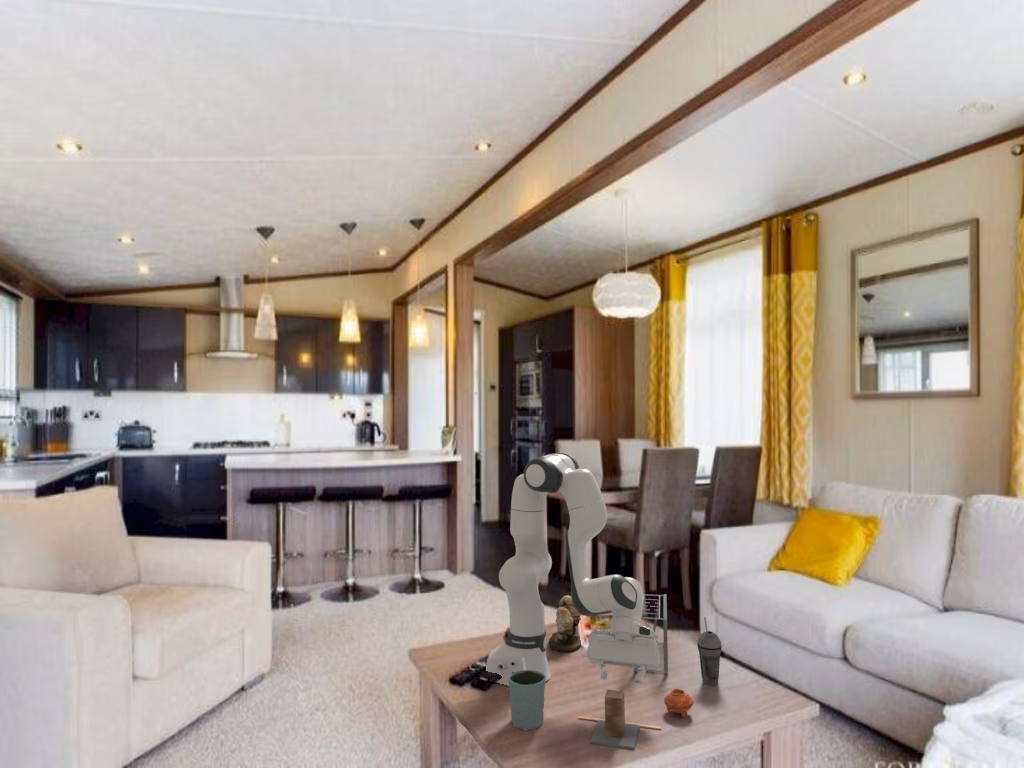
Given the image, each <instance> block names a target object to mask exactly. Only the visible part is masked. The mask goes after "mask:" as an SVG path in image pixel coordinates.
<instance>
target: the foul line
mask: <svg viewBox="0 0 1024 768" xmlns="http://www.w3.org/2000/svg"><path fill="white" fill-rule="evenodd" d="M578 719H579V720H586V721H592V722H598V720H605V718H599V717H598V718H597V717H589V716H583V715H582V716H581V715H580V716H578ZM625 723H627V724H635V725H640V728H644V729H645V728H646V729H652V730H659V731H661V730H662V726H658V725H657V726H656V725H652V724H643V723H635V722H628V721H627V722H626V721H625Z"/></svg>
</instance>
